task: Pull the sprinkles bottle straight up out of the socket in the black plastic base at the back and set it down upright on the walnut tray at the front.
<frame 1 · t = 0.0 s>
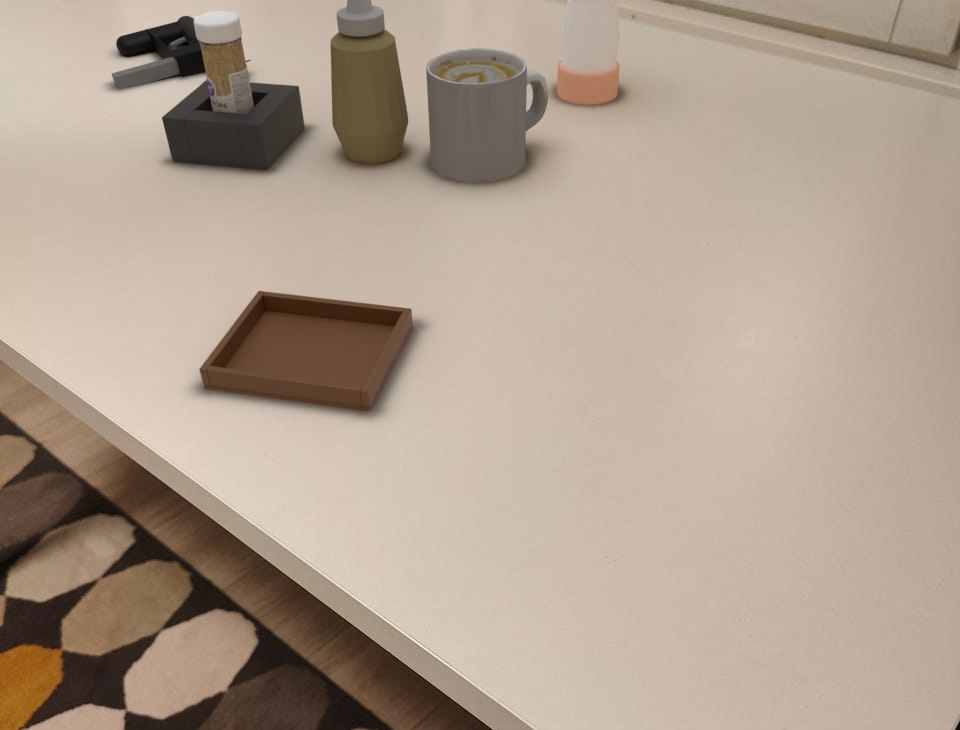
squeeze bottle: (373, 155, 102), on the table
pepper shaker: (586, 96, 113), on the table
socket base: (241, 146, 104), on the table
coffee mug: (493, 162, 100), on the table
tray: (312, 358, 74), on the table
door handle: (171, 69, 122), on the table
sprinkles bottle: (241, 148, 104), resting in socket base
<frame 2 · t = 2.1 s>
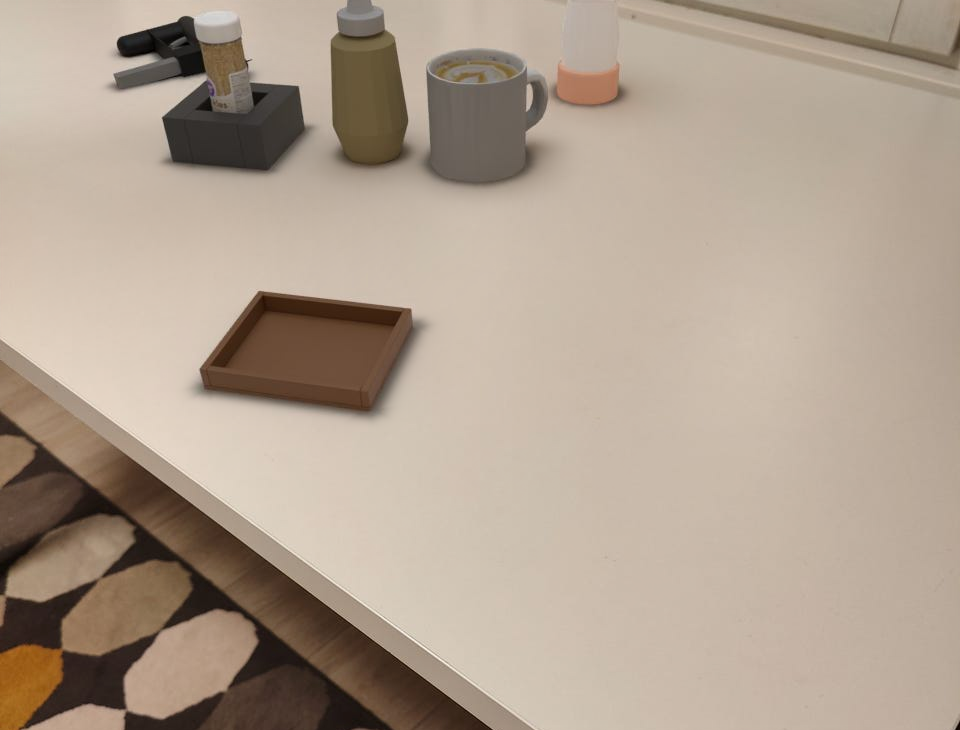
nothing on the table moved.
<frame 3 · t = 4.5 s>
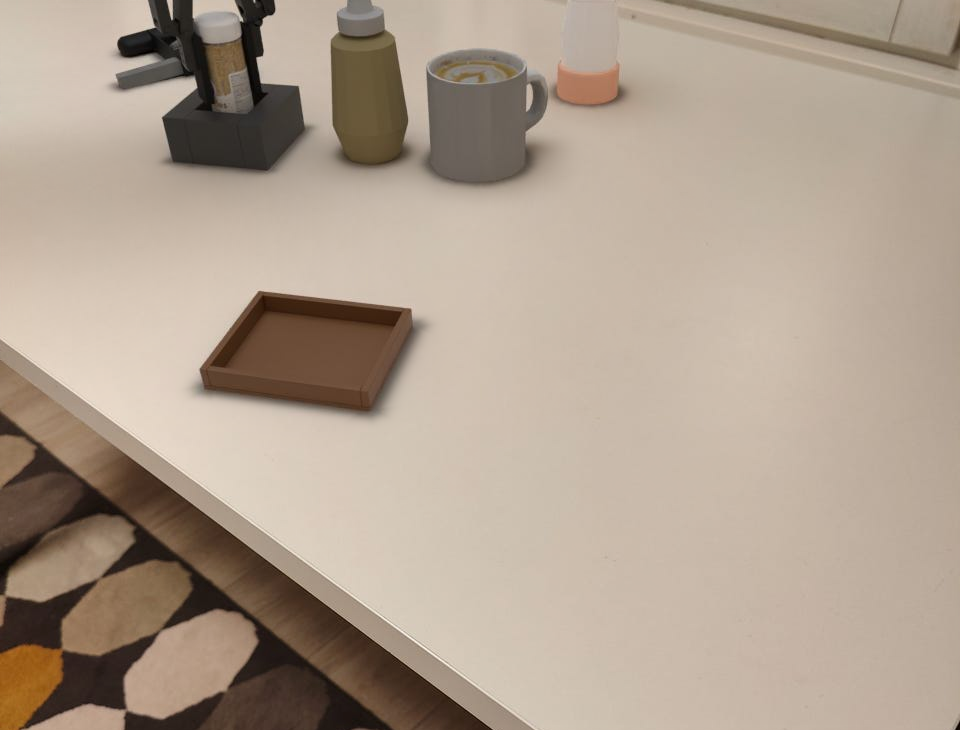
hand: (230, 94, 100), 6 cm above the table, tool pointing down, fingers closed on sprinkles bottle, 5 cm apart
sprinkles bottle: (241, 148, 104), resting in socket base, touching gripper
everything else where it was.
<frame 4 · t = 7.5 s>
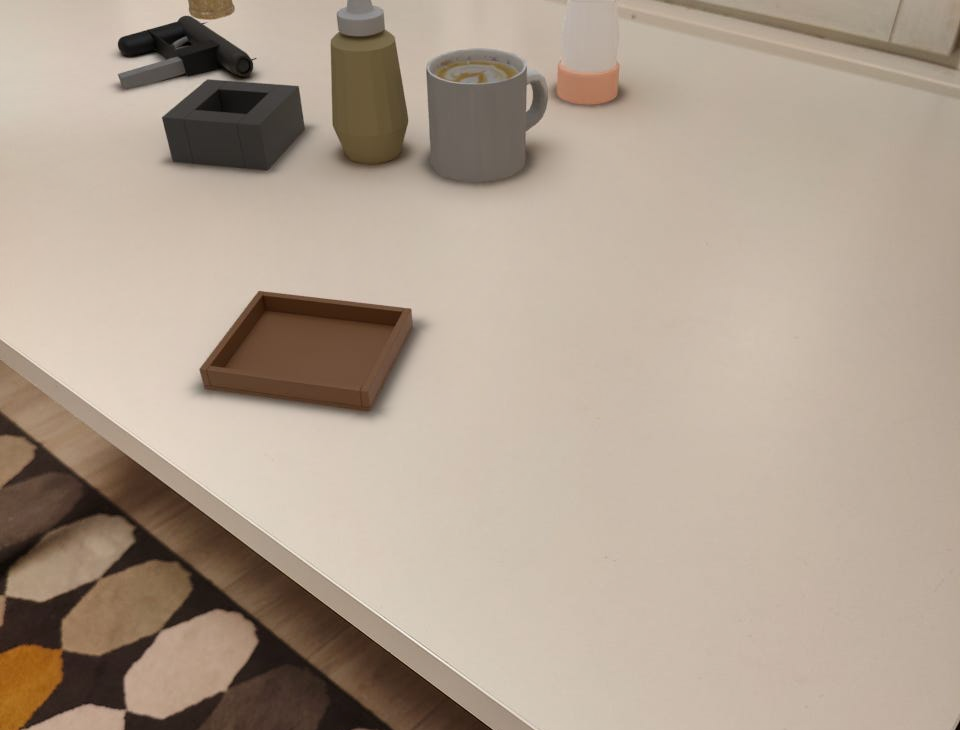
sprinkles bottle: (213, 16, 95), point 13 cm above the table, touching gripper
everything else where it was.
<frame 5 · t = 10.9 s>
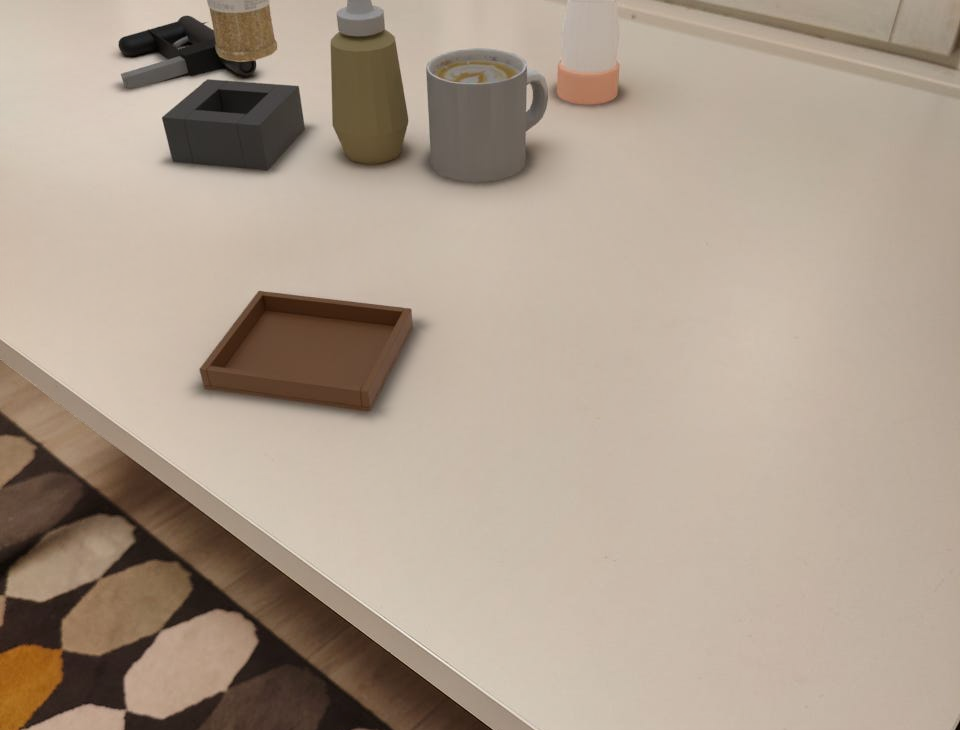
sprinkles bottle: (248, 56, 70), point 19 cm above the table, touching gripper
everything else where it was.
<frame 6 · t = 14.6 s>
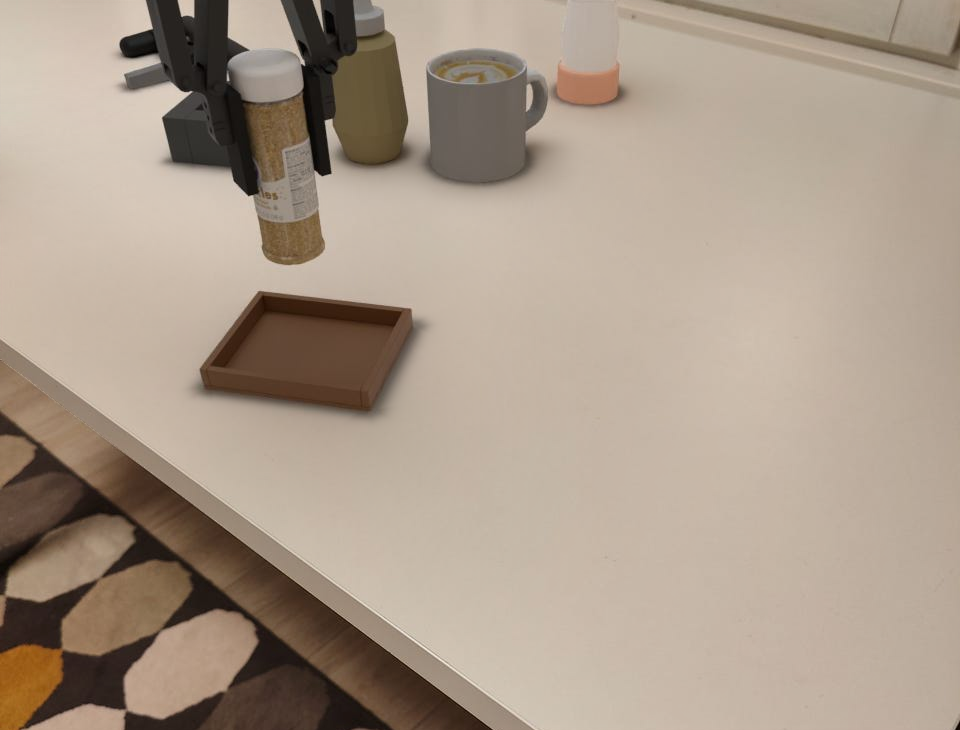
hand: (282, 176, 64), 15 cm above the table, tool pointing down, fingers closed on sprinkles bottle, 5 cm apart
sprinkles bottle: (295, 254, 68), point 9 cm above the table, touching gripper
when the fingers open (6 cm above the table, at t = 17.3 s): sprinkles bottle stays where it is, resting on tray.
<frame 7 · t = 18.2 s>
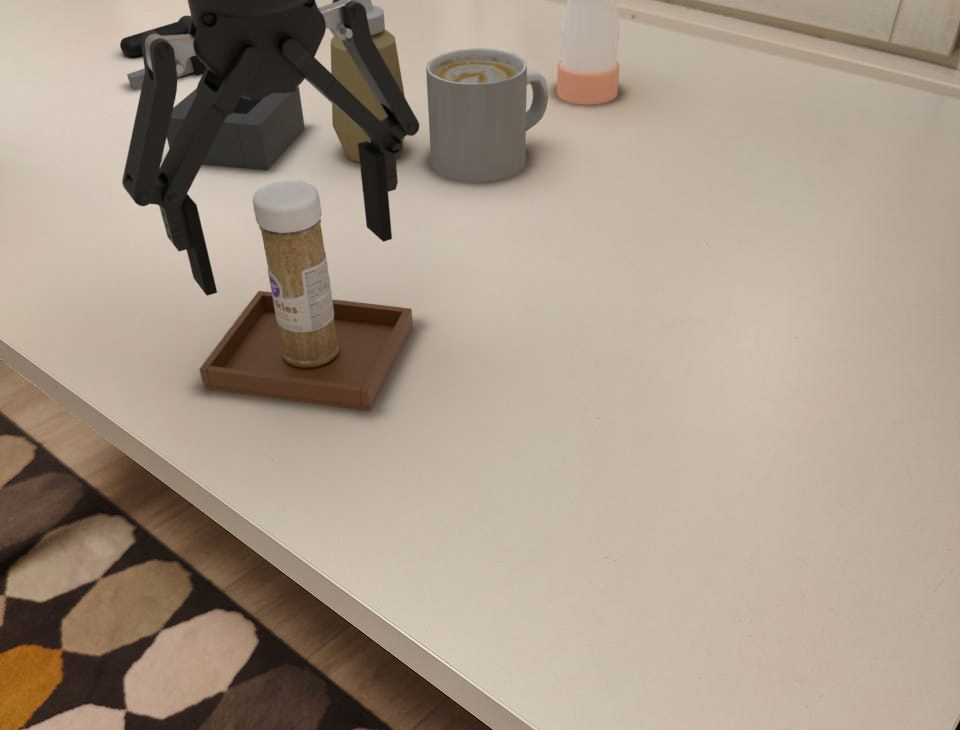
hand: (295, 258, 68), 9 cm above the table, tool pointing down, fingers open, 13 cm apart
sprinkles bottle: (312, 355, 74), resting on tray
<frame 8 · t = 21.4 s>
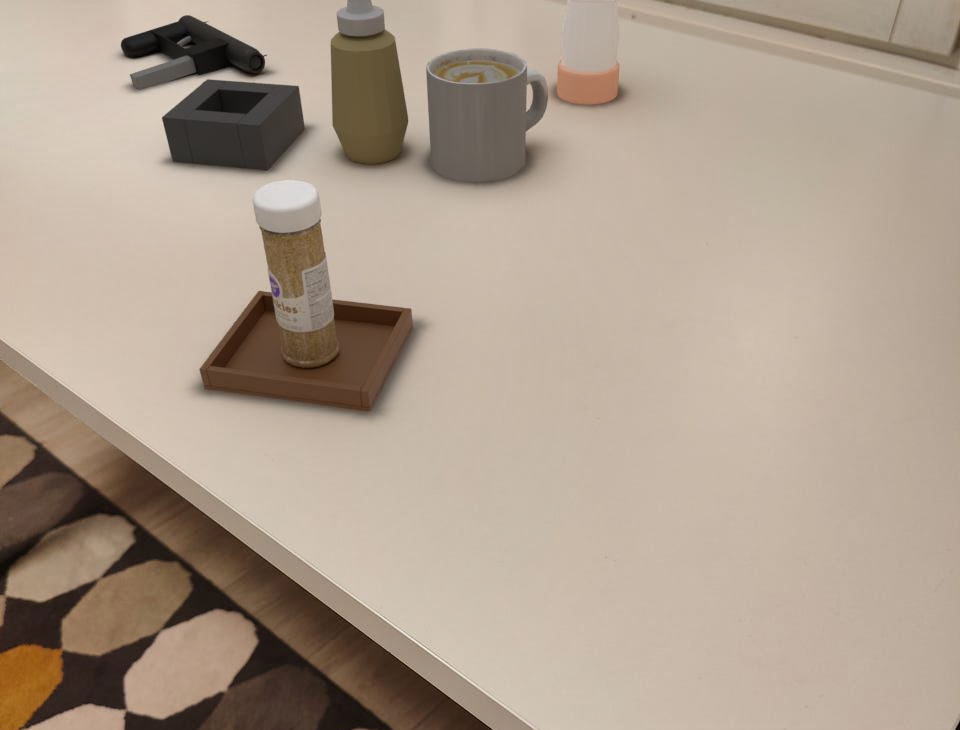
at the end: sprinkles bottle inside the target area in the tray (0.0 cm from its centre), point 0.3 cm above the tray's base; sprinkles bottle tilted 0°; the gripper is holding nothing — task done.
